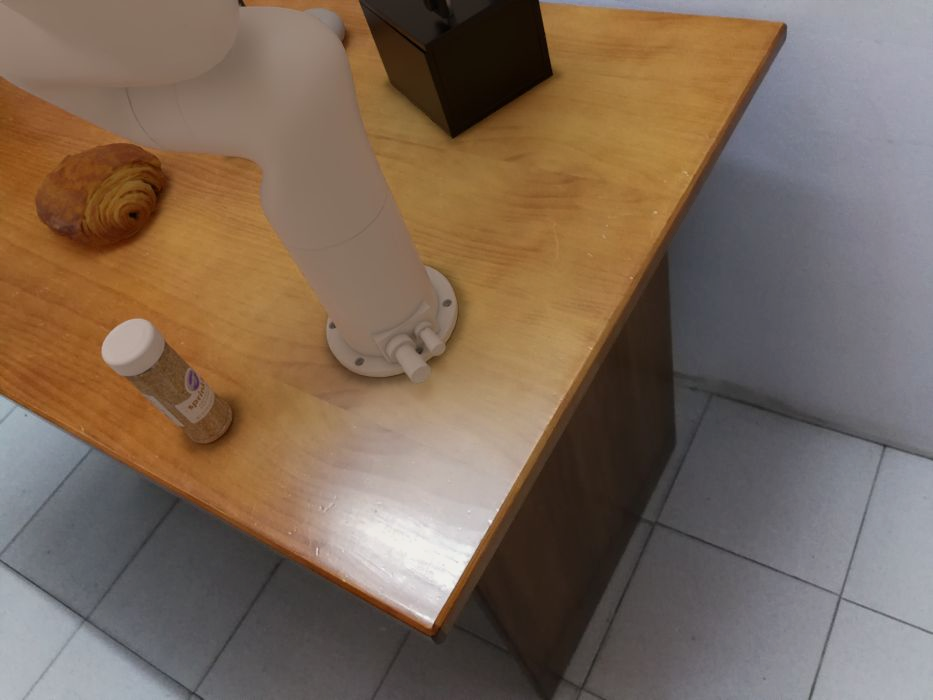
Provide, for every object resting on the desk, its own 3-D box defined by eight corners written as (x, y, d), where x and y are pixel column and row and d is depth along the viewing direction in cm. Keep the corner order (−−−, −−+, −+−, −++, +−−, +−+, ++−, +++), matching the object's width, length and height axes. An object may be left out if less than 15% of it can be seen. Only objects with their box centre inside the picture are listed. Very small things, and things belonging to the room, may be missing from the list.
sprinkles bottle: (236, 434, 71) (152, 350, 60) (189, 452, 71) (98, 372, 61) (231, 394, 74) (151, 308, 63) (186, 412, 74) (99, 328, 63)
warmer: (553, 75, 89) (536, -15, 80) (452, 138, 87) (424, 53, 78) (483, 26, 98) (461, -60, 89) (390, 83, 96) (358, 1, 87)
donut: (297, 27, 109) (265, 73, 104) (286, 4, 106) (253, 50, 101) (360, 25, 105) (330, 72, 100) (351, 1, 103) (320, 48, 98)
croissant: (113, 281, 91) (72, 239, 84) (36, 225, 97) (-8, 182, 90) (201, 195, 95) (169, 149, 88) (122, 147, 102) (86, 100, 95)
